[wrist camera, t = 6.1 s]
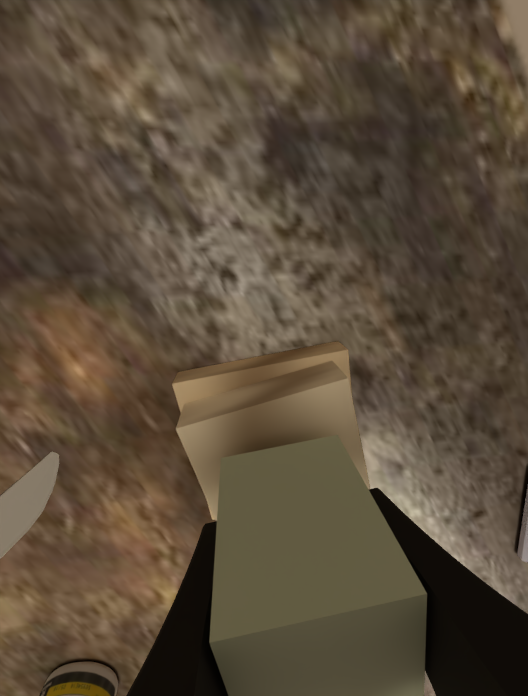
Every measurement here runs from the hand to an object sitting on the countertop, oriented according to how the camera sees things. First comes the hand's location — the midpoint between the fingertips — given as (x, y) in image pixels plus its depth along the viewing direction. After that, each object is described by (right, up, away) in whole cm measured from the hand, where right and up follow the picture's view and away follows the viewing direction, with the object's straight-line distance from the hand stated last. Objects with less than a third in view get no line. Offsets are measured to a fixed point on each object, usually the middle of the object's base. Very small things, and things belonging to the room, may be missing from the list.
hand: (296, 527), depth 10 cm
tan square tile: (0, +1, +5) cm, 5 cm away
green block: (0, 0, +2) cm, 2 cm away
